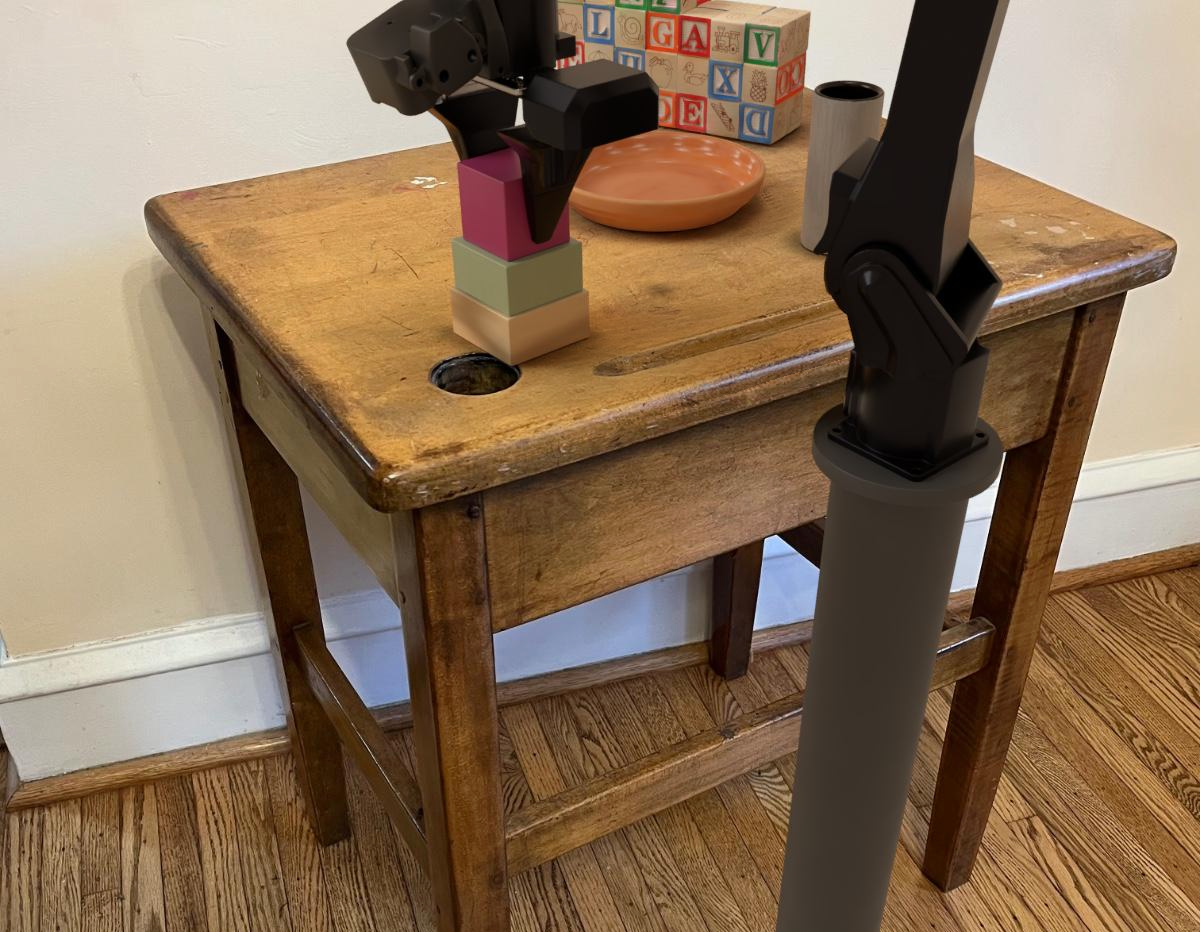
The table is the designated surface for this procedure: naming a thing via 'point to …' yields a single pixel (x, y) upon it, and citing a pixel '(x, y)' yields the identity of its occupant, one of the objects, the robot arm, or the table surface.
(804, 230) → the grey hollow cylinder
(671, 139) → the saucer
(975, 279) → the robot arm
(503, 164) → the mulberry block
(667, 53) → the stack of blocks
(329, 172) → the table surface
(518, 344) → the beech base block
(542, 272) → the sage middle block
